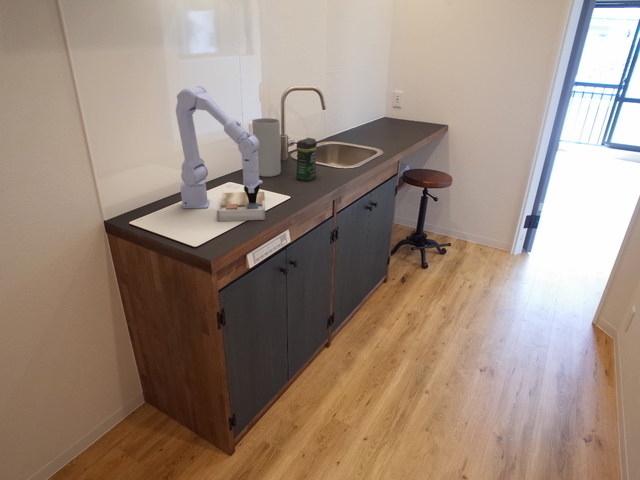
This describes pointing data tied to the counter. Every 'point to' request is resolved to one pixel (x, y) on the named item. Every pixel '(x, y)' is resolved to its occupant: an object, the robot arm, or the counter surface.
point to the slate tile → (252, 205)
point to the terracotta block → (232, 207)
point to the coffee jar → (306, 159)
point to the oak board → (240, 199)
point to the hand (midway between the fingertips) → (252, 204)
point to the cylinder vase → (268, 146)
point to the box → (241, 213)
